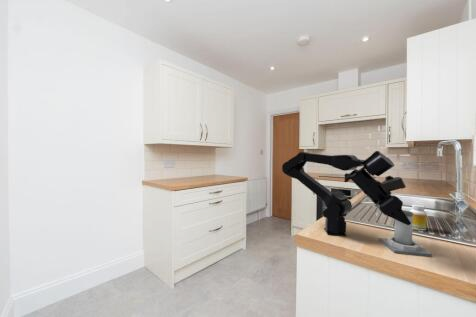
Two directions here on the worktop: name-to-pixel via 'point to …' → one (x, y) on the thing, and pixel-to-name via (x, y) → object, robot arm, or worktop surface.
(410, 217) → the canister
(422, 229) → the supplement bottle
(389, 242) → the ring socket board
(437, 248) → the worktop surface
